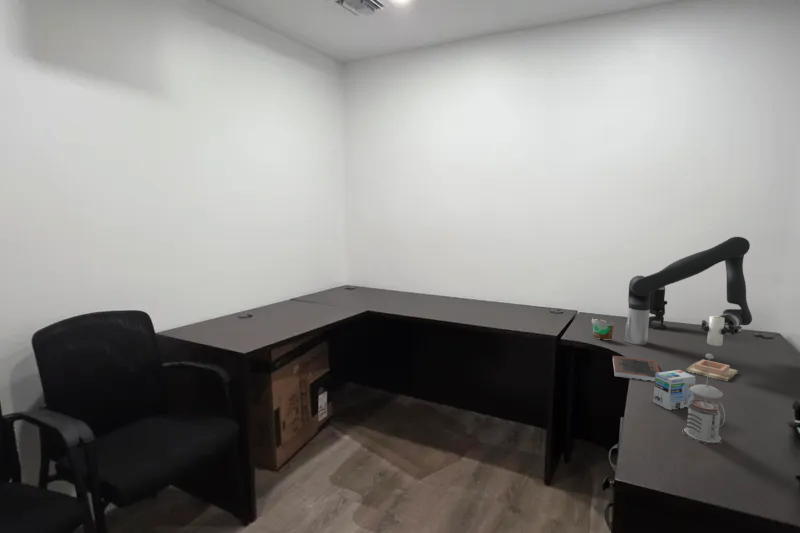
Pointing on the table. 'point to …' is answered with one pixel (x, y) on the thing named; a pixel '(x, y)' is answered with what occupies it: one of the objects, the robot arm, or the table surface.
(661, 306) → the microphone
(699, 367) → the roll holder
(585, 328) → the table surface
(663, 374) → the light bulb box
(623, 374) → the picture frame
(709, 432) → the french press
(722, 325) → the paper roll
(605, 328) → the food container
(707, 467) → the table surface
